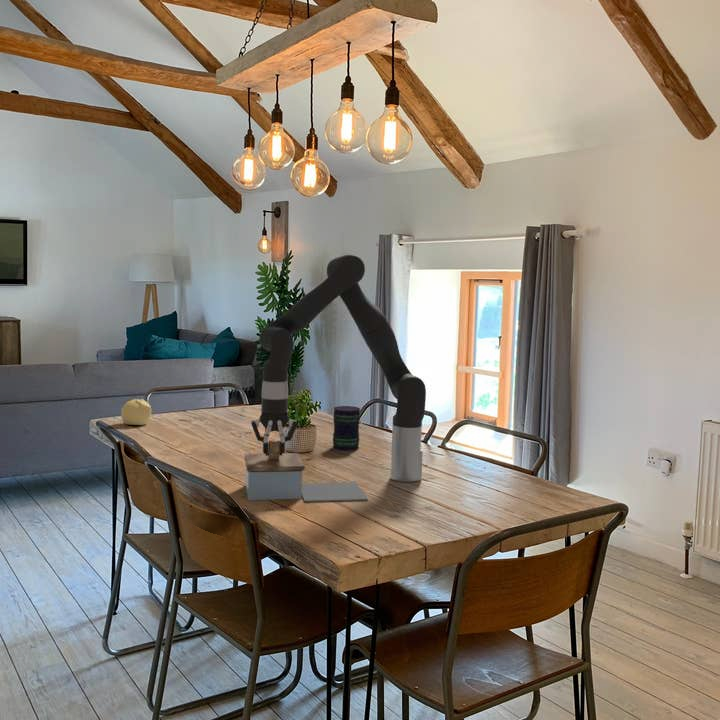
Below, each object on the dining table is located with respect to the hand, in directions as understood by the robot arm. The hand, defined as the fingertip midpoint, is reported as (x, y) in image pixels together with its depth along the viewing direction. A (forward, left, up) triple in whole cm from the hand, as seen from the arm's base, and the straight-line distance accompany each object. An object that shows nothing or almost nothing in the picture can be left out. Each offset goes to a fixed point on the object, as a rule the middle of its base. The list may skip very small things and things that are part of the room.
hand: (273, 454), depth 223 cm
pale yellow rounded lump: (+47, -105, -11) cm, 116 cm away
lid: (0, 0, -3) cm, 3 cm away
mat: (-17, +2, -11) cm, 20 cm away
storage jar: (-32, -57, -11) cm, 66 cm away
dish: (0, 0, -11) cm, 11 cm away
